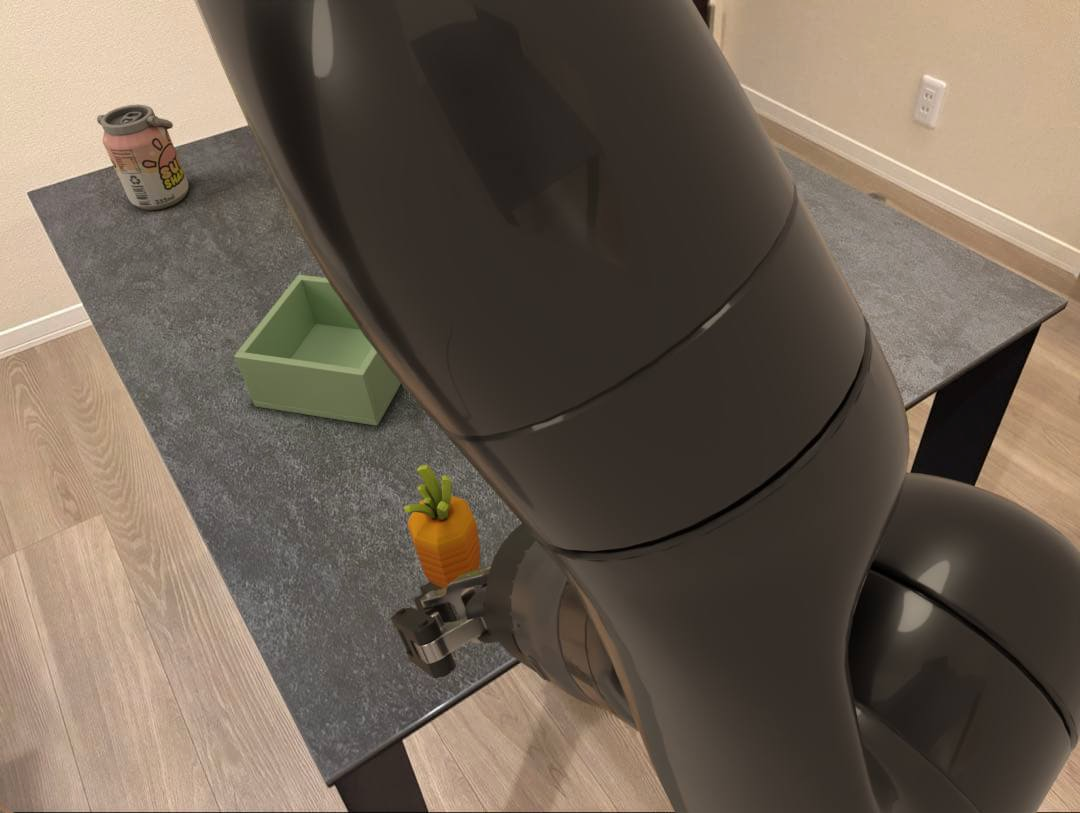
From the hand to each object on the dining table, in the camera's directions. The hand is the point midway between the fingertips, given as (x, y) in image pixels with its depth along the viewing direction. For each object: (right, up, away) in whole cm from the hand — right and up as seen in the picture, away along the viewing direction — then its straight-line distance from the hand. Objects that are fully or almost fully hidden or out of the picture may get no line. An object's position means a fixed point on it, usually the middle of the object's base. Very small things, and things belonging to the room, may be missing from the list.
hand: (495, 567), depth 50 cm
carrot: (-4, -6, +17) cm, 18 cm away
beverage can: (-50, +39, +67) cm, 93 cm away
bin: (-18, +13, +38) cm, 44 cm away
